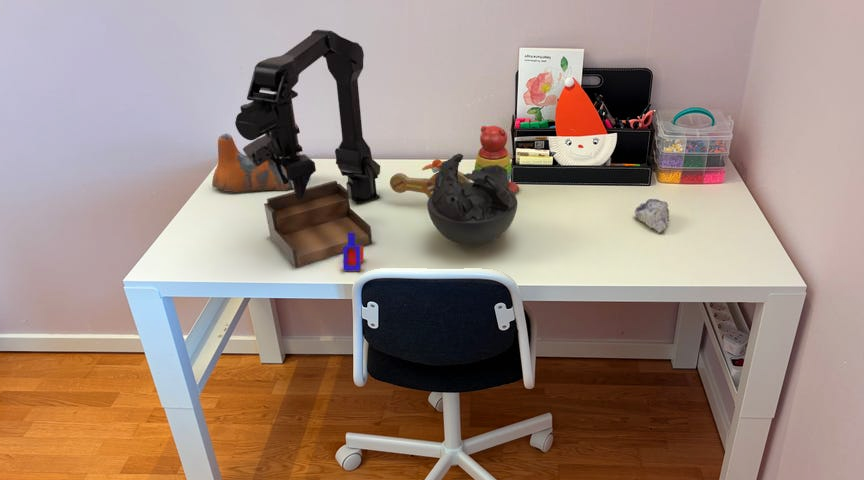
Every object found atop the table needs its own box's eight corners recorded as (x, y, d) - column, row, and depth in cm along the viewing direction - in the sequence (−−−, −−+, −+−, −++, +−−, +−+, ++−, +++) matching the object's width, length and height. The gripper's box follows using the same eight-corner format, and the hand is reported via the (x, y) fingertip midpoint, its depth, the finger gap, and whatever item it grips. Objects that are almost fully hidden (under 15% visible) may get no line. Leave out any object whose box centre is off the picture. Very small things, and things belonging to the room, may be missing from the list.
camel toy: (207, 194, 191) (193, 131, 182) (228, 172, 202) (215, 112, 193) (299, 197, 188) (288, 134, 179) (315, 176, 199) (306, 115, 190)
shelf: (343, 216, 178) (338, 179, 173) (372, 243, 167) (368, 204, 161) (270, 238, 170) (263, 199, 165) (295, 268, 159) (288, 227, 153)
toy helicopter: (466, 220, 175) (464, 167, 168) (386, 210, 181) (381, 159, 173) (475, 205, 182) (474, 154, 174) (398, 196, 187) (394, 146, 180)
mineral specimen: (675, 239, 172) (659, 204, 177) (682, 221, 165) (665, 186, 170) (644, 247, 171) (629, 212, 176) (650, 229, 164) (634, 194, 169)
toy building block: (363, 269, 160) (362, 232, 160) (360, 270, 156) (359, 233, 156) (347, 269, 161) (346, 232, 160) (343, 270, 156) (342, 233, 156)
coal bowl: (520, 262, 158) (521, 183, 148) (428, 264, 158) (423, 186, 148) (513, 218, 175) (514, 145, 165) (430, 221, 175) (426, 147, 165)
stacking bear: (521, 189, 189) (523, 123, 179) (502, 204, 182) (502, 137, 172) (486, 180, 194) (485, 116, 184) (465, 195, 187) (463, 129, 177)
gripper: (230, 118, 155) (244, 184, 163) (257, 146, 141) (270, 217, 150) (281, 107, 160) (291, 173, 168) (311, 133, 146) (321, 203, 154)
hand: (292, 191), depth 160 cm, fingers open, 9 cm apart
